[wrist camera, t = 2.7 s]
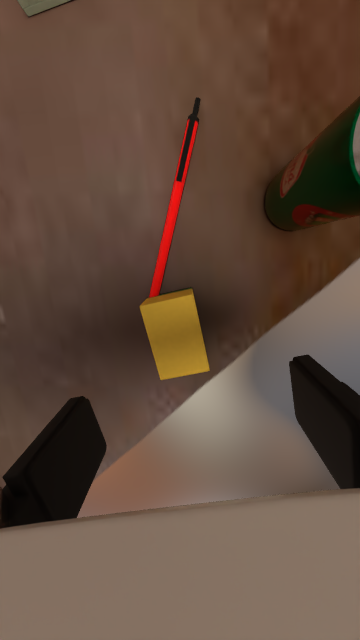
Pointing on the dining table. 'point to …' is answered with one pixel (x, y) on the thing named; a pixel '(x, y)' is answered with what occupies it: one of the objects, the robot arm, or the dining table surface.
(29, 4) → the tray
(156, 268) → the pen
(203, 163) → the dining table surface
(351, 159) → the soda can
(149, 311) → the sponge
